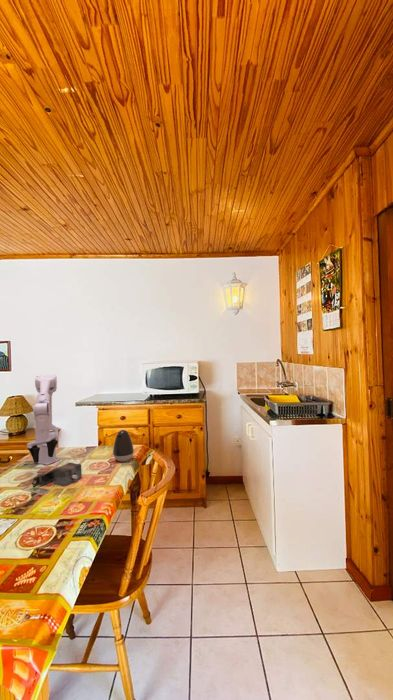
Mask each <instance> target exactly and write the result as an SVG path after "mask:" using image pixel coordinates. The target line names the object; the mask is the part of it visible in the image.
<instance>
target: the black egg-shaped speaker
mask: <svg viewBox="0 0 393 700" xmlns="http://www.w3.org/2000/svg"><path fill="white" fill-rule="evenodd" d="M134 452H135V451H134V444H133V441H132V438H131V436H130V434H129V432H128V431H127V430H125V429H122V430H121V429H120V430H119V431H118V432H117V434H116V436H115V439H114V443H113V448H112V454H113V456H114V459H115V460H116V461H118V462H121V463H123V462H128V461H130V460H131V459H132V458H133V455H134Z"/></svg>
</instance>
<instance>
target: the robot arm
mask: <svg viewBox="0 0 393 700" xmlns="http://www.w3.org/2000/svg"><path fill="white" fill-rule="evenodd" d="M57 383H58V381H57V376H56V374H54V375H42V376H41V375H40V376H35V379H34V385H35V388H36V391H37V393H38V394H37V395H36V400H35V404H33V407H32V409H33V411H32V412H33V413H32V414H33V416H34V417H33V418H34V421H35V422H34V424H35V425H34V426H35V427H34V428H35V439H34V440H32V441H30V442H28V443H26V448H27V450H28V451H29V453H30V455H31V457H32V460H33V463H36V464H41V465H46V466H48V465H50V464H53V463H56V462H58V461H61V458H57V449H56V447H57V444H58V442H59V429H58V427H57V426H56V425H54V424H53V404H52V403H53V401H52V400H53V393H55V392H57V389H58V387H57V385H58V384H57Z"/></svg>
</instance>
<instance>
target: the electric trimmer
mask: <svg viewBox="0 0 393 700" xmlns="http://www.w3.org/2000/svg"><path fill="white" fill-rule="evenodd" d="M39 476H40V475H39ZM39 476H36V477H35V478H34V479H33V480H32V481H31V485H32V486H34V485H36V484H39V483H40V479H39Z"/></svg>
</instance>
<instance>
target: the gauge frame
mask: <svg viewBox="0 0 393 700" xmlns="http://www.w3.org/2000/svg"><path fill="white" fill-rule="evenodd" d="M52 470H53V481H52V483H53V485H57V486H61V487H68V486H69V485H71V484H73V483H75V482H77V481H79V480H81V479H82V477H83V475H82V472H83V471H82V464H80V463H74V462H67V463H65V464H63V465H60V466H59V467H56V468H54V469H52ZM72 474H73V475H78V478H77V479H72V477H71V475H72ZM20 490H21V491H25V492H29V493H34V494H38V495H42V496H43V495H46V494H48V493H50V492H51V490H49V489H46V488H41V487H38V486H36V487H33V485H32V486H31V485H26V486H24V487H21V488H20Z"/></svg>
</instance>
